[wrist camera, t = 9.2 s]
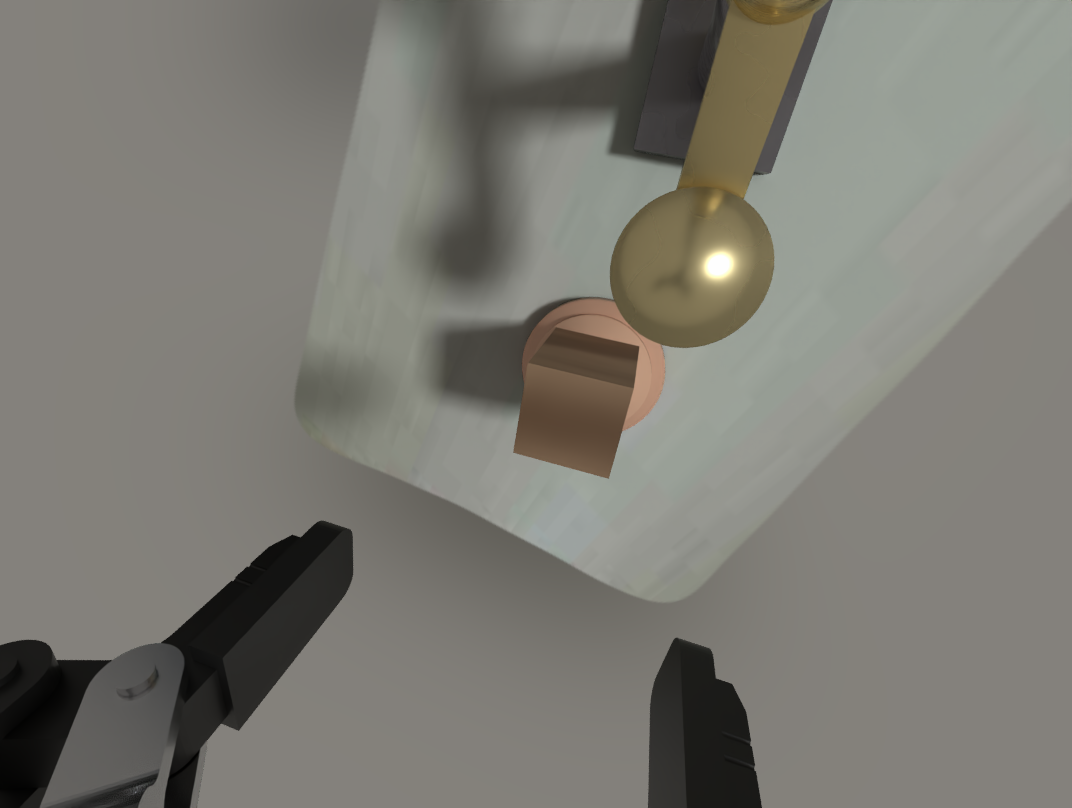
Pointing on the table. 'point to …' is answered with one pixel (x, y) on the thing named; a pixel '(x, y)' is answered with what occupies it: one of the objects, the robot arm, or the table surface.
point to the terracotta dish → (610, 324)
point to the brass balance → (712, 164)
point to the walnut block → (576, 401)
